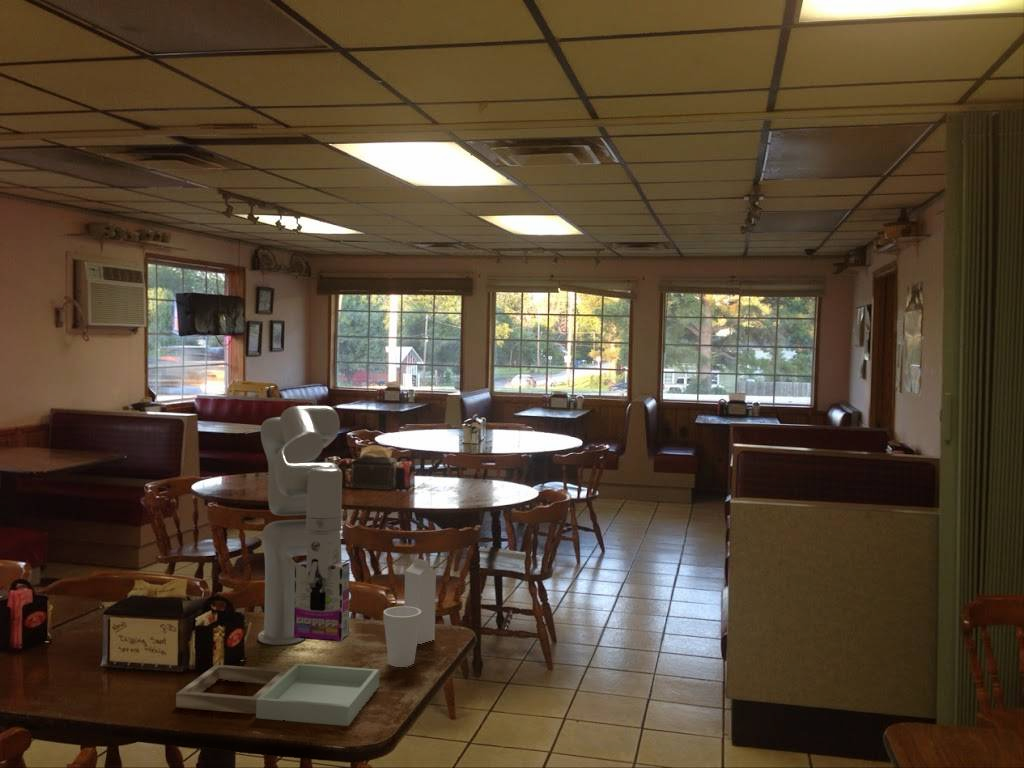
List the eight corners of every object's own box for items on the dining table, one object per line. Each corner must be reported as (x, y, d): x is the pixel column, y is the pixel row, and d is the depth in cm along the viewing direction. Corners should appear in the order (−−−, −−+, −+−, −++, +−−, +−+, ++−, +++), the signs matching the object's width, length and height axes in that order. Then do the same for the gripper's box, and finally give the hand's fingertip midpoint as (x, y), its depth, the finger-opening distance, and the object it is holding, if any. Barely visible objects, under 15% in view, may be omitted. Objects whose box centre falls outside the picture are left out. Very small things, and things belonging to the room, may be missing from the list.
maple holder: (215, 677, 207) (215, 664, 207) (288, 683, 204) (289, 670, 204) (176, 707, 189) (176, 693, 189) (255, 714, 187) (255, 699, 187)
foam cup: (405, 654, 226) (406, 604, 225) (428, 664, 219) (429, 612, 219) (374, 662, 219) (375, 611, 219) (397, 673, 213) (398, 619, 212)
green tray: (296, 680, 206) (296, 663, 206) (378, 686, 204) (379, 669, 203) (256, 718, 185) (256, 699, 184) (348, 726, 182) (348, 706, 182)
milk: (418, 645, 233) (419, 563, 232) (403, 640, 237) (404, 559, 236) (435, 640, 237) (436, 559, 236) (420, 635, 241) (421, 555, 241)
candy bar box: (349, 635, 195) (351, 562, 194) (341, 642, 190) (342, 567, 189) (302, 631, 197) (303, 558, 197) (292, 638, 192) (294, 563, 192)
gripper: (326, 532, 184) (325, 618, 184) (352, 518, 201) (351, 597, 201) (292, 530, 185) (290, 616, 185) (321, 516, 202) (319, 595, 202)
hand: (322, 605), depth 193 cm, fingers closed on candy bar box, 5 cm apart
